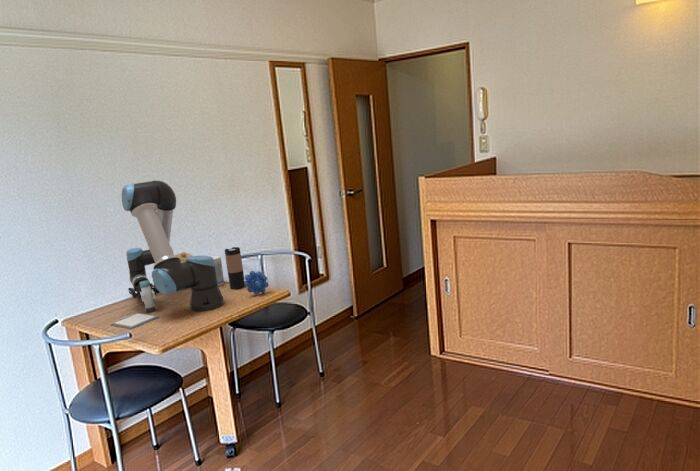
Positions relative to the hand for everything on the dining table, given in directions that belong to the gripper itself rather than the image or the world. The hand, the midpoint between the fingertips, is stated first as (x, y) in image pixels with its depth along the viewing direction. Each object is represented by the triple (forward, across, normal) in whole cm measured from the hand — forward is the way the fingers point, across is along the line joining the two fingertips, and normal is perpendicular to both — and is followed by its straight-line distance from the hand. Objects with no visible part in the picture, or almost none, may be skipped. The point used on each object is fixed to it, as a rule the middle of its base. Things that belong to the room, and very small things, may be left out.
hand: (148, 297), depth 235 cm
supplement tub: (-24, -35, -9) cm, 43 cm away
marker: (-4, 0, -8) cm, 9 cm away
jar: (-36, -22, -8) cm, 43 cm away
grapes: (+11, -47, -7) cm, 49 cm away
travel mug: (-10, -43, -8) cm, 45 cm away
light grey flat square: (+6, +8, -8) cm, 12 cm away
